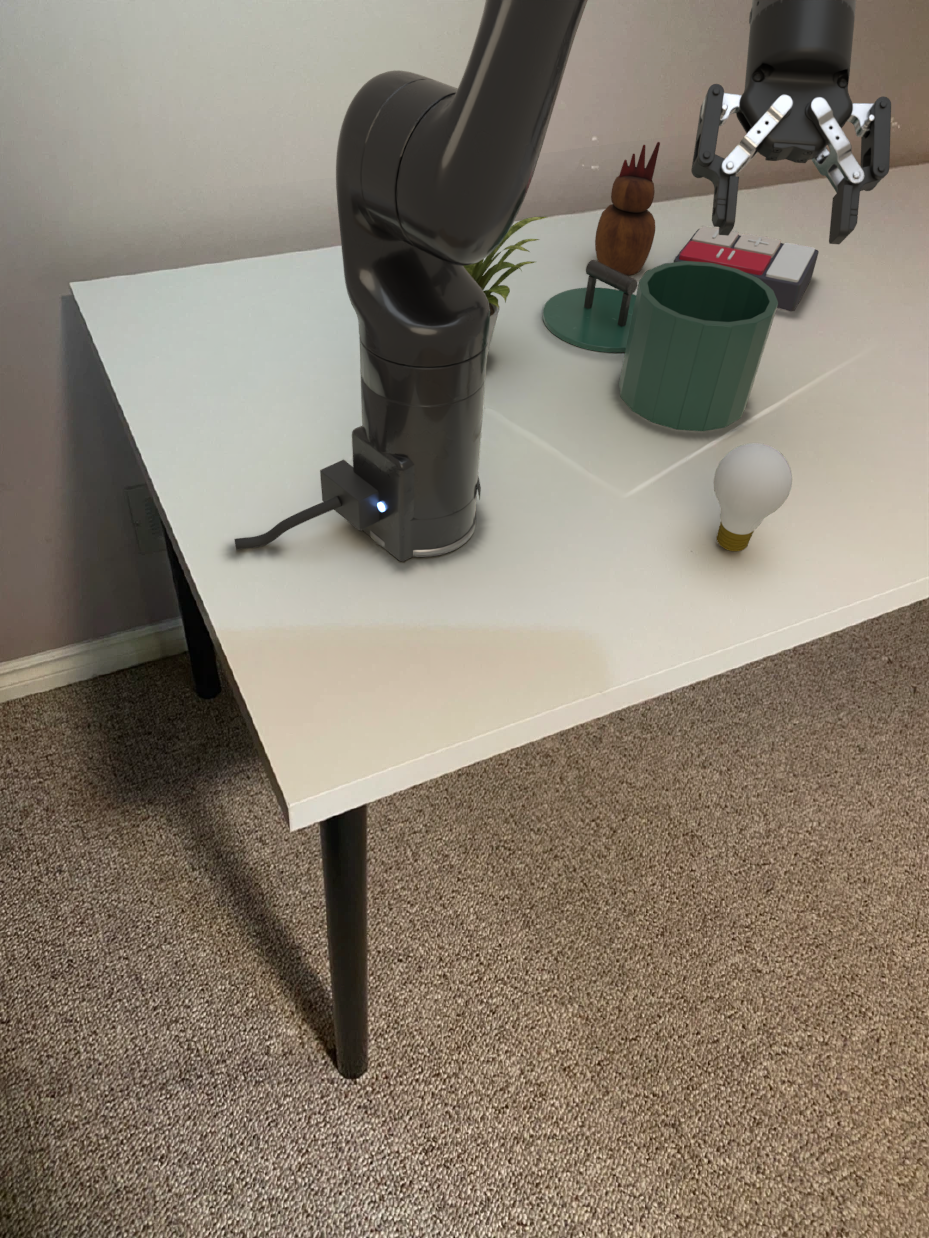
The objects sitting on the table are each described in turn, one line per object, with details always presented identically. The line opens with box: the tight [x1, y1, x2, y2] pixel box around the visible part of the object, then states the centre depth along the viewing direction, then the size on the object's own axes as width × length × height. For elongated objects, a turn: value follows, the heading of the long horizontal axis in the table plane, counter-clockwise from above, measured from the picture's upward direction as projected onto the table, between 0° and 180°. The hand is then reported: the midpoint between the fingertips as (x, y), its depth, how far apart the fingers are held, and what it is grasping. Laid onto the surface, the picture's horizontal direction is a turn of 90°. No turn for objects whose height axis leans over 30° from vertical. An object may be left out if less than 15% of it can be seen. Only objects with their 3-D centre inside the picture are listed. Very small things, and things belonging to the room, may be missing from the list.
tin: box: [618, 261, 778, 432], centre depth 89 cm, size 13×13×12 cm
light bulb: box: [713, 442, 793, 552], centre depth 74 cm, size 6×6×10 cm
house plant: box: [464, 216, 547, 357], centre depth 90 cm, size 14×14×16 cm
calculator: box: [673, 225, 820, 312], centre depth 111 cm, size 11×4×15 cm
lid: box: [542, 259, 638, 354], centre depth 101 cm, size 14×14×6 cm
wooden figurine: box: [594, 141, 661, 276], centre depth 108 cm, size 7×6×15 cm
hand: (782, 236), depth 70 cm, fingers open, 8 cm apart
